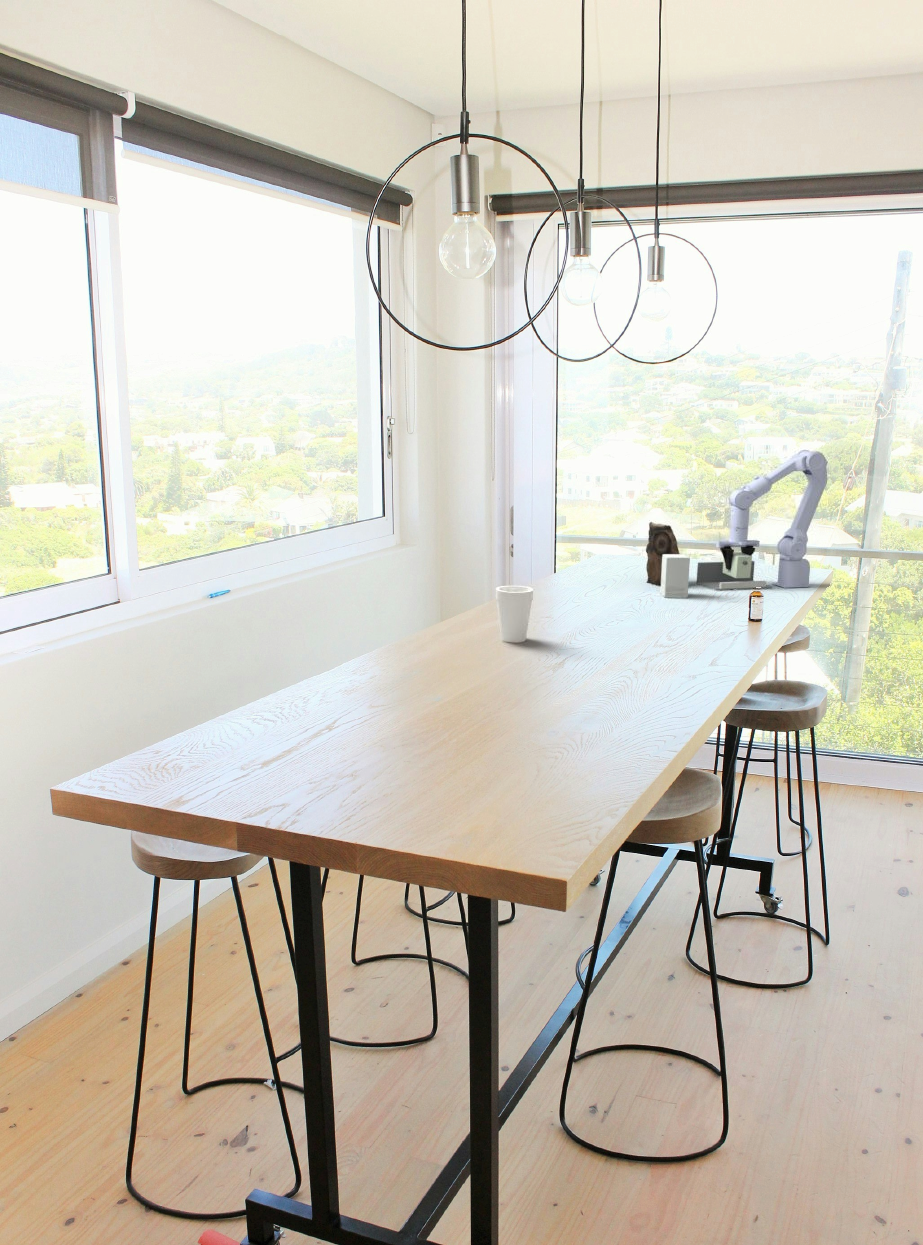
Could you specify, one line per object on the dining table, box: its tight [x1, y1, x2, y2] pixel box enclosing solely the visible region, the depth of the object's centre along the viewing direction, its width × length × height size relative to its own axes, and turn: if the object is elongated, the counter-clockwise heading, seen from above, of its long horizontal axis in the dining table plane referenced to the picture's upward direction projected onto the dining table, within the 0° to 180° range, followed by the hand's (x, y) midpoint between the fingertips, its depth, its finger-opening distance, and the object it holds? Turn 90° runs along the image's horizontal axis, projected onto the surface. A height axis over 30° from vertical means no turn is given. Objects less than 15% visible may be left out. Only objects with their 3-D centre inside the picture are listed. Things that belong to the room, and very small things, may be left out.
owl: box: [645, 521, 680, 587], centre depth 335 cm, size 13×13×20 cm
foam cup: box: [495, 585, 534, 643], centre depth 257 cm, size 10×9×13 cm
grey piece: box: [696, 560, 772, 591], centre depth 334 cm, size 20×13×7 cm, turn 104°
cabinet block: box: [722, 550, 753, 578], centre depth 331 cm, size 5×10×7 cm, turn 14°
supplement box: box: [659, 553, 691, 599], centre depth 315 cm, size 7×7×13 cm
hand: (736, 569), depth 332 cm, fingers closed on cabinet block, 5 cm apart
